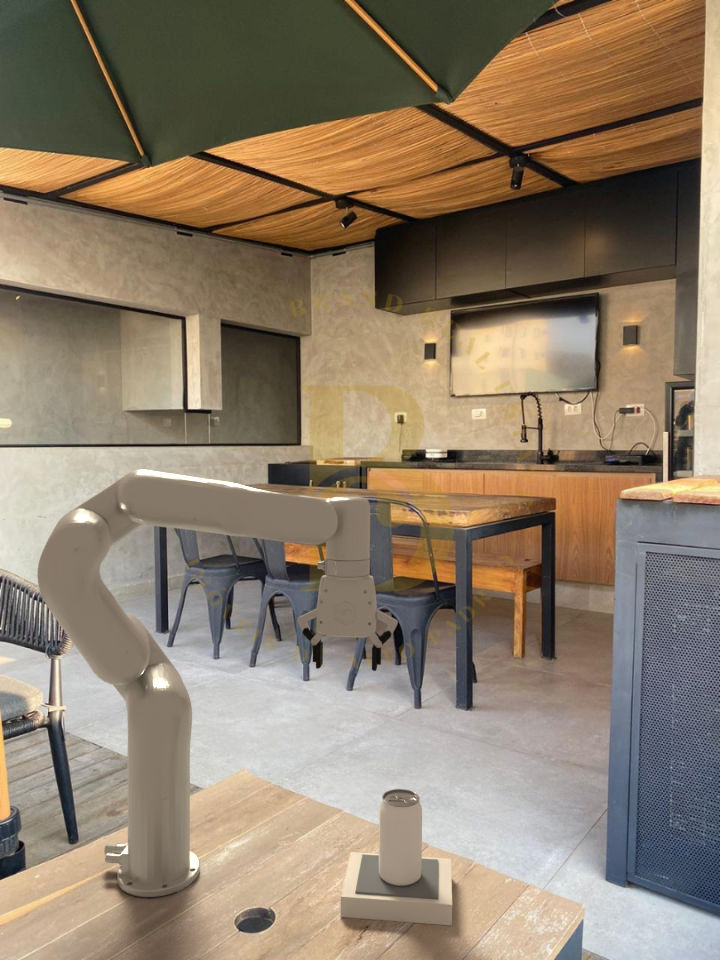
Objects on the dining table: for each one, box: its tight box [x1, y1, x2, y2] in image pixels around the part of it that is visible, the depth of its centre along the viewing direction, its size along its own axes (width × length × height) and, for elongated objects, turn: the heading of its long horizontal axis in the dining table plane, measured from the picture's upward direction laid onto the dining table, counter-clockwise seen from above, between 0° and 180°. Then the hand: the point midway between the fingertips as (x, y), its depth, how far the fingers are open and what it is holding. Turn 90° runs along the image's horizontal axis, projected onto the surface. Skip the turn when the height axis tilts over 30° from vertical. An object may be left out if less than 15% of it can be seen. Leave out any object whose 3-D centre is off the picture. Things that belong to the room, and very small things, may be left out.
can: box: [378, 788, 423, 886], centre depth 111 cm, size 6×6×12 cm
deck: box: [340, 851, 453, 926], centre depth 111 cm, size 16×12×3 cm
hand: (346, 667), depth 126 cm, fingers open, 9 cm apart
